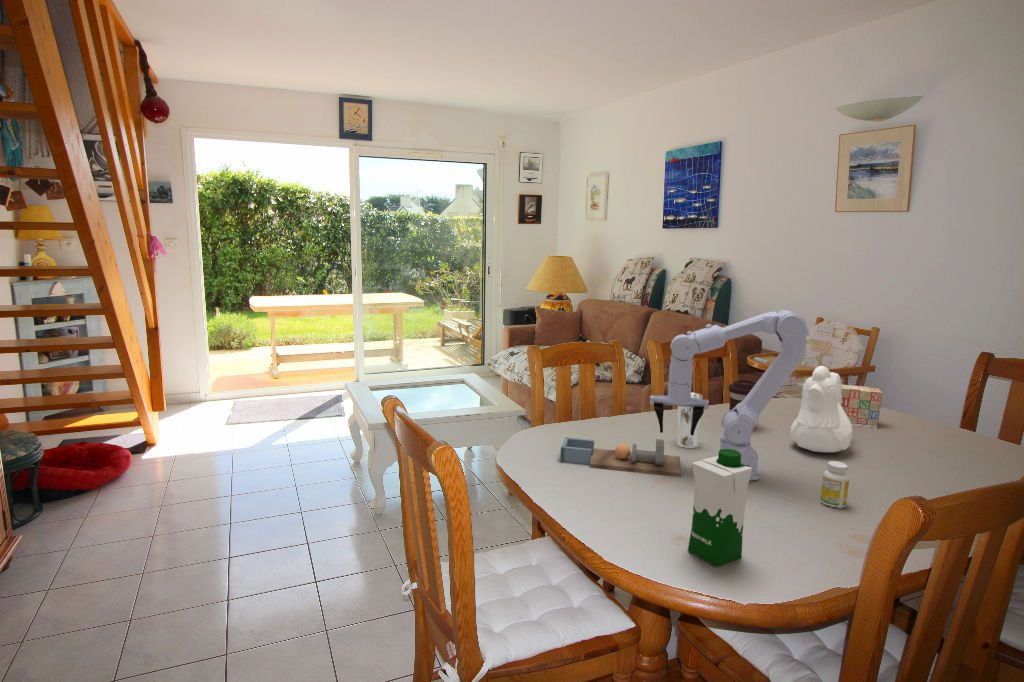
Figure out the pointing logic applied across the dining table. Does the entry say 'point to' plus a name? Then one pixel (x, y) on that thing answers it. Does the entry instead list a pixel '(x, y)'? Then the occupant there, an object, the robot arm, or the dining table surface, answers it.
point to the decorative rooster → (822, 415)
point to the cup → (577, 450)
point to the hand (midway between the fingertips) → (676, 432)
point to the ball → (622, 451)
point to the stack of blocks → (861, 404)
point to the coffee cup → (739, 391)
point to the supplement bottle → (835, 485)
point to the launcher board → (611, 461)
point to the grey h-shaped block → (649, 454)
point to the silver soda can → (687, 425)
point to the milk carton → (719, 507)
